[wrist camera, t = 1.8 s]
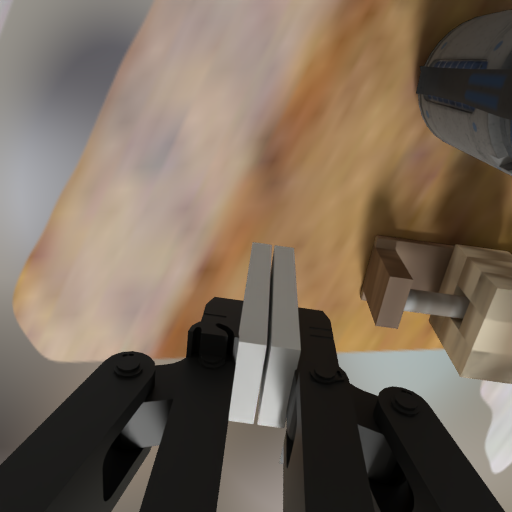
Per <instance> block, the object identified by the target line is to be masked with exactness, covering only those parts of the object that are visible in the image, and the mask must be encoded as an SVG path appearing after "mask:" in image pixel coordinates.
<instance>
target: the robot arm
mask: <svg viewBox="0 0 512 512" xmlns="http://www.w3.org/2000/svg"><path fill="white" fill-rule="evenodd" d="M271 251H272V245H269V244H262V243H254V242H253V244H252V251H251V257H250V264H249V270H248V276H247V283H246V289H245V296H244V301H240V300H233V299H226V298H219V297H214V298H213V299H212V300H211V301H209V302H208V303H207V304H206V307H205V310H204V314H203V317H202V320H201V322H198V323H196V324H194V325H192V326H191V328H190V329H189V331H188V341H187V354H186V358H185V359H183V360H181V361H179V362H176V363H173V364H167V365H156V366H155V363H154V361H153V360H152V359H151V358H150V357H149V356H147V355H145V354H143V353H140V352H133V351H130V352H121V353H118V354H115V355H112V356H111V357H110V358H108V359H107V360H105V361H104V362H103V363H102V364H101V365H100V366H99V367H98V368H97V369H96V370H95V371H94V372H93V373H92V374H91V375H90V376H89V377H88V378H87V379H86V380H85V381H84V382H83V383H82V384H81V385H80V386H79V387H78V388H77V389H76V390H75V391H74V392H73V393H72V394H71V395H70V396H69V397H68V398H67V399H66V400H65V401H64V402H63V403H62V404H61V405H60V406H59V407H58V408H57V409H56V410H55V411H54V412H53V413H52V414H51V415H50V416H49V417H48V418H47V419H46V420H45V421H44V422H43V423H42V424H41V425H40V426H39V427H38V428H37V429H36V430H35V431H34V432H33V433H32V434H31V435H30V436H29V437H28V438H27V439H26V440H25V441H24V442H23V443H22V444H21V445H20V446H19V447H18V448H17V449H16V450H15V451H14V452H13V453H12V454H11V455H10V456H9V457H8V458H7V459H6V460H5V461H4V462H3V463H2V464H1V465H0V512H111V511H112V510H113V508H114V506H115V505H116V503H117V502H118V500H119V499H120V497H121V496H122V494H123V493H124V491H125V489H126V488H127V486H128V485H129V483H130V482H131V480H132V478H133V477H134V475H135V474H136V472H137V471H138V469H139V467H140V466H141V464H142V463H143V461H144V460H145V458H146V457H147V455H148V453H149V452H150V449H151V447H152V446H156V445H159V449H158V452H157V455H156V458H155V462H154V465H153V469H152V472H151V475H150V478H149V482H148V485H147V488H146V491H145V495H144V498H143V501H142V505H141V508H140V511H139V512H216V508H217V501H218V493H219V486H220V479H221V471H222V464H223V456H224V449H225V441H226V434H227V426H228V421H236V422H243V423H250V424H253V423H254V417H255V411H256V405H257V399H258V393H259V388H260V394H259V410H258V425H265V426H271V427H280V428H284V427H285V422H286V417H287V430H286V435H285V439H284V444H283V449H282V454H281V458H280V463H281V464H283V470H284V471H283V472H284V473H283V512H505V511H504V510H503V508H502V507H501V506H500V504H499V503H498V501H497V500H496V498H495V497H494V496H493V494H492V493H491V491H490V490H489V489H488V487H487V486H486V484H485V483H484V482H483V480H482V479H481V477H480V476H479V475H478V473H477V472H476V470H475V469H474V468H473V466H472V465H471V463H470V462H469V461H468V459H467V458H466V456H465V455H464V454H463V452H462V451H461V449H460V448H459V447H458V445H457V444H456V442H455V441H454V440H453V438H452V437H451V435H450V434H449V433H448V431H447V430H446V428H445V427H444V426H443V424H442V423H441V422H440V420H439V419H438V417H437V416H436V414H435V413H434V412H433V410H432V409H431V407H430V406H429V405H428V403H427V402H426V401H425V400H424V399H423V398H422V397H420V396H419V395H417V394H416V393H414V392H413V391H410V390H407V389H404V388H401V387H388V388H384V389H383V390H382V391H381V392H380V393H379V396H376V395H374V394H371V393H368V392H365V391H363V390H361V389H359V388H357V387H355V386H353V385H352V384H350V383H349V379H348V377H347V375H346V373H345V372H344V371H343V370H342V369H341V368H340V367H339V364H338V359H337V353H336V348H335V343H334V340H333V332H332V327H331V322H330V319H329V318H328V317H327V316H326V315H325V313H324V312H323V311H319V310H312V309H305V308H298V301H297V287H296V272H295V257H294V248H290V247H283V246H276V245H275V248H274V254H273V260H272V266H271ZM270 271H271V272H270Z"/></svg>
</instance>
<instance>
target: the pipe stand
mask: <svg viewBox="0 0 512 512" xmlns="http://www.w3.org/2000/svg"><path fill="white" fill-rule="evenodd" d="M454 247H455V246H452V245H445V244H438V243H431V242H423V241H416V240H409V239H402V238H395V237H387V236H380V235H376V238H375V242H374V245H373V249H372V253H371V257H370V260H369V264H368V268H367V272H366V276H365V279H364V283H363V287H362V291H361V294H360V298H361V300H365V301H367V303H368V306H369V308H370V311H371V314H372V317H373V320H374V323H375V325H376V326H381V327H389V328H396V329H398V326H399V323H400V320H401V317H402V314H403V311H410V312H417V313H424V314H431V315H439V316H446V317H453V318H460V319H463V318H464V316H465V313H466V311H467V308H468V305H469V303H470V300H469V299H468V298H467V297H465V296H458V295H451V294H443V293H438V292H439V290H440V287H441V284H442V281H443V278H444V275H445V273H446V270H447V267H448V264H449V261H450V258H451V256H452V253H453V250H454Z"/></svg>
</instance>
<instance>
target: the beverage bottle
mask: <svg viewBox="0 0 512 512" xmlns="http://www.w3.org/2000/svg"><path fill="white" fill-rule="evenodd" d="M420 70H421V74H420V78H419V83H418V87H417V91H416V93H417V94H418V98H419V107H420V111H421V115H422V117H423V119H424V121H425V123H426V125H427V127H428V128H429V129H430V130H431V132H432V133H433V134H434V135H435V136H437V137H438V138H439V139H441V140H442V141H443V142H445V143H447V144H449V145H451V146H453V147H455V148H457V149H459V150H461V151H463V152H465V153H467V154H469V155H471V156H473V157H475V158H477V159H479V160H481V161H483V162H485V163H487V164H489V165H491V166H493V167H495V168H497V169H499V170H501V171H503V172H505V173H507V174H509V175H511V176H512V9H511V10H506V11H502V12H497V13H492V14H488V15H483V16H479V17H475V18H473V19H471V20H468V21H466V22H464V23H462V24H460V25H459V26H458V27H456V28H455V29H453V30H452V31H450V32H449V33H448V34H447V35H446V36H445V37H444V38H443V39H442V40H441V41H440V42H439V43H438V44H437V46H436V47H435V48H434V50H433V51H432V52H431V54H430V56H429V58H428V60H427V62H426V64H425V65H424V66H420Z"/></svg>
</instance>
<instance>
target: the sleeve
mask: <svg viewBox="0 0 512 512" xmlns="http://www.w3.org/2000/svg"><path fill="white" fill-rule="evenodd" d="M438 293H443V294H451V295H458V296H465V297H467V298H468V299H469V300H470V303H469V305H468V308H467V311H466V313H465V316H464V318H463V319H460V318H453V317H446V316H439V315H430V318H429V322H430V324H431V326H432V327H433V329H434V331H435V333H436V334H437V336H438V338H439V340H440V342H441V343H442V345H443V347H444V349H445V350H446V352H447V354H448V356H449V357H450V359H451V361H452V363H453V365H454V366H455V368H456V370H457V372H458V373H459V375H460V377H465V378H472V379H480V380H487V381H494V382H501V383H509V384H512V254H511V253H509V252H508V251H502V250H495V249H487V248H480V247H473V246H466V245H459V244H455V247H454V250H453V253H452V256H451V258H450V261H449V264H448V267H447V270H446V273H445V275H444V278H443V281H442V284H441V287H440V290H439V292H438Z"/></svg>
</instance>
